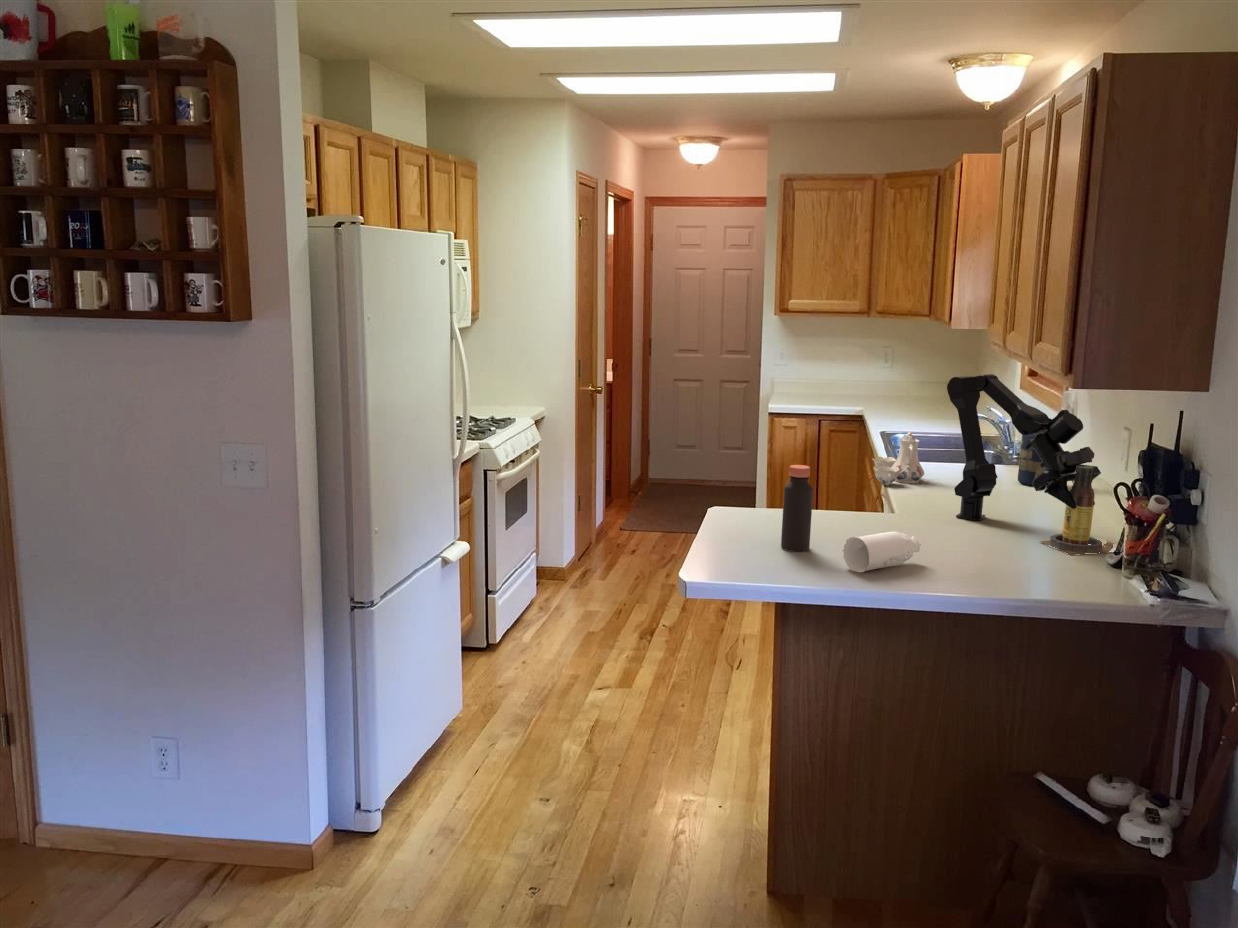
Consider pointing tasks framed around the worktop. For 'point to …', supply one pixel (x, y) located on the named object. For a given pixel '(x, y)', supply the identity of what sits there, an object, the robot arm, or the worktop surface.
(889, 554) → the white bottle
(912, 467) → the chinaware
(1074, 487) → the sauce bottle
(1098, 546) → the cup bracket
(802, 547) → the vinegar
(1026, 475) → the candle
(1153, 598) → the worktop surface
